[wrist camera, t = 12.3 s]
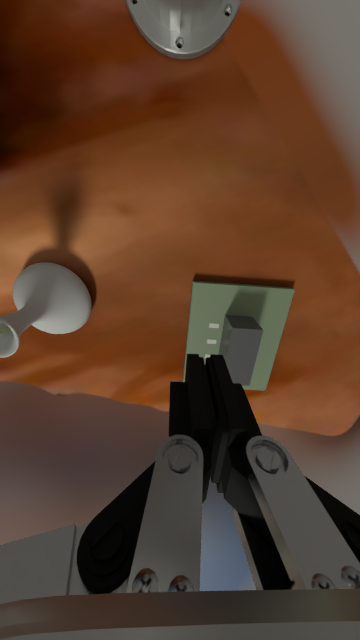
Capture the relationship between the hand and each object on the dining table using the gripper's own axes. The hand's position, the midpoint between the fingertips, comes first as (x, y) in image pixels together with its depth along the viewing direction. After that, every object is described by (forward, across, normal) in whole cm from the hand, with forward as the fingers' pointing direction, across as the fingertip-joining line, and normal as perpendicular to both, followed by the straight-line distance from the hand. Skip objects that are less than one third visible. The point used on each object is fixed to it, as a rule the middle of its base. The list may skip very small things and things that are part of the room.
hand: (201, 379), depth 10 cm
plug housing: (+24, -9, +12) cm, 28 cm away
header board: (+25, -9, +12) cm, 29 cm away
